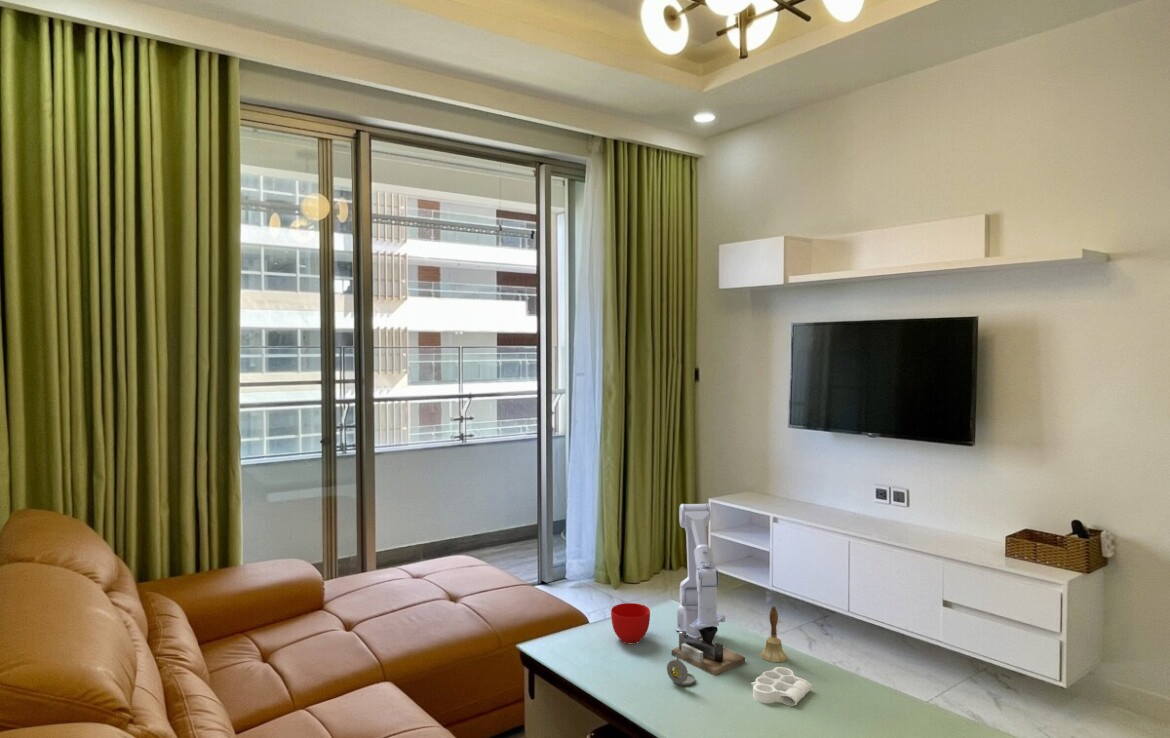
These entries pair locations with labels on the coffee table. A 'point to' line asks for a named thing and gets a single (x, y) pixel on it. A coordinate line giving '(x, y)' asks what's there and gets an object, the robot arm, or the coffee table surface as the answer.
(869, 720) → the coffee table surface
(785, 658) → the hand bell
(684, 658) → the press base
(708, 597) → the robot arm
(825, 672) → the coffee table surface
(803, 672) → the coffee table surface
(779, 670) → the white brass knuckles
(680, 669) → the pocket watch
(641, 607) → the ceramic cup
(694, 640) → the lever
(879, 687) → the coffee table surface
